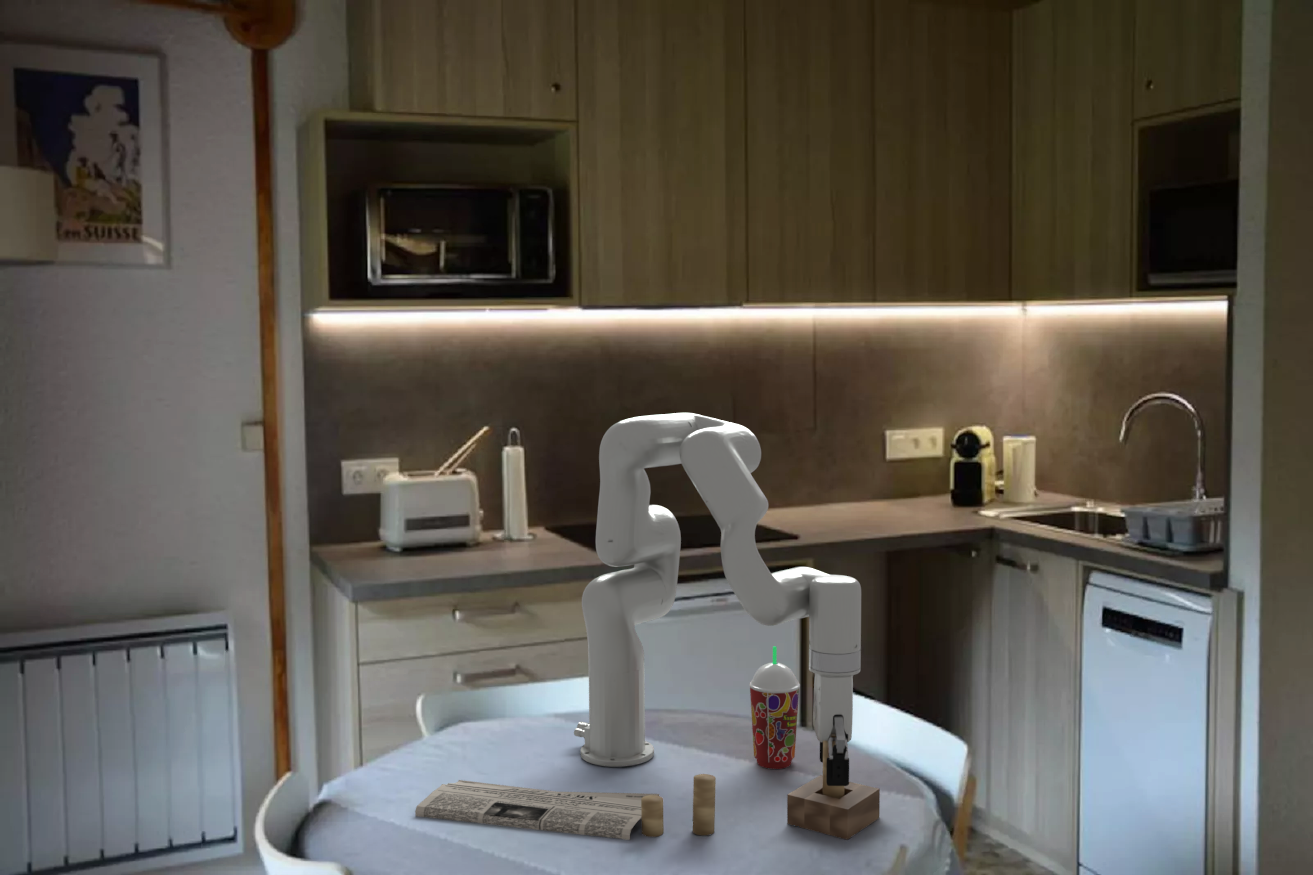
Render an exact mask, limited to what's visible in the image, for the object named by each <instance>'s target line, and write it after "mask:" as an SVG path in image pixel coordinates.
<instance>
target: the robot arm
mask: <svg viewBox="0 0 1313 875" xmlns="http://www.w3.org/2000/svg"><path fill="white" fill-rule="evenodd" d="M602 436H603V437H602V439H601V441H600V445H599V450H598V451H599V452H598V453H599V454H598V460H599V461H598V462H599V479H600V480H599V481H600V482H599V494H598V505H597V516H596V529H595V550H596V554H597V557H598V559H599V560H600V561H601V563H603V564H605V565H606V566H609V567H615V568H618V567H629V566H633V567H632V568H628V569H627V568H626V569H622V570H618V571H617V570H616V571H612V572H608V573H604V574H601V575H599V576H598V577H595V578H593V579H592V580H591V581H590V582H588V584H587V585H586V586H585V588H584V590H583V592H582V595H581V609H582V615H583V619H584V620H583V621H584V625H585V629H586V630H585V631H586V638H587V652H588V653H587V655H588V656H587V657H588V659H587V660H588V662H587V663H588V718H589V719H588V722H585V721H579V722H578V724H577V726H576V728H575V729H574V730H573V735H574V736H575V737H579V738H583V739H584V744H583V745H582V746H581V747H580V757H581V759H582V760H584V761H586V762H587V763H589V764H592V765H596V766H601V767H609V768H616V767H617V768H619V767H631V766H636V765H640V764H643V763H645V762H648V761H650V760H651V759H653V757H654V755H655V747H654V745H653V744H652V743H650V742H649V741H647V740H646V707H645V706H646V703H645V702H646V701H645V700H646V698H645V697H646V695H645V694H646V693H645V690H646V688H645V686H646V682H645V681H646V680H645V679H646V678H645V677H646V676H645V673H646V670H645V652H644V647H643V643H642V642H641V640H640V637H639V635H638V633H637V631H636V629H635V628H636V627H635V626H637V625H640V624H643V623H647V622H650V621H654V620H657V619H661V618H662V617H664V616H665V615H667V614H668V613H669V612H670V611H671V609H672V608H673V605H674V603H675V600H676V595H677V588H678V579H679V578H678V577H679V568H680V567H679V566H680V557H681V556H680V555H681V544H682V542H681V541H682V537H681V530H680V525H679V523H678V521H677V519H676V516H675V515H674V514H673V512H672V511H670V510H669V509H668V508H666V507H664V506H662V505H658V504H650V500H651V492H652V491H651V482H650V480H649V477H648V474H647V472H646V470H645V469H648V468H649V469H650V468H658V467H667V466H675V465H680V464H681V466H682V467H683V470H684V471H685V472H686V474H687V477H688V478H689V479H690V481H691V483H692V484H693V486H694V487H695V489H696V490H697V493H698V494H699V496H700V497H701V499H702V501H703V502H704V504H705V506H706V507H707V508H708V510H709V512H710V514H711V516H712V518H713V519H714V520H715V522H716V524H717V526H718V527H719V529H720V532H721V534H720V535H721V536H720V556H721V557H720V558H721V565H722V570H723V573H724V576H725V579H726V581H727V583H728V585H729V587H730V588H731V590H732V592H733V593H734V595H735V597H736V598H737V600H738V601H739V603H740V605H741V606H742V608H743V609H744V611H745V612H746V613H747V614H748V616H749V617H751V618H752V620H754V621H755V622H757V623H759V624H761V625H763V626H768V627H769V626H770V627H772V626H778V625H781V624H785V623H788V622H791V621H794V620H799V619H804V618H808V622H809V626H808V629H809V630H808V631H809V634H808V635H809V636H808V637H809V640H808V641H809V642H808V644H809V645H808V646H809V647H808V670H809V672H811V673H813V674H814V684H813V686H814V688H813V713H812V714H813V715H812V726H813V729H814V733H815V736H816V739H817V741H818V742H819V762H821V763H822V764H823V741H827V742H828V755H829V758H827V766H826V783H827V785H828V786H848V785H849V782H850V758H849V746H848V743H849V742H850V741H851V740H852V736H853V714H854V711H853V709H854V708H853V706H854V702H853V700H854V698H853V697H854V696H853V695H854V694H853V692H854V689H853V688H854V682H853V677H854V675H855V676H856V675H858V674H859V673H860V672H861V668H862V667H861V664H862V663H861V661H862V659H861V657H862V656H861V655H862V654H861V652H862V651H861V650H862V646H861V645H862V641H861V640H862V636H861V635H862V587H861V584H860V582H859V581H858V579H856V578H854V577H852V576H849V575H848V576H847V575H843V574H829V573H826V572H824V571H821V570H818V569H815V568H812V567H810V566H795V567H792V568H789V569H788V568H787V569H784V570H779V571H775V572H771V571H770V569H769V568H768V566H767V565H766V563H765V562H764V560H763V558H762V556H761V554H760V552H759V550H758V547H757V543H756V536H755V535H756V528H757V525H758V523H759V522H760V521H761V520H762V519H763V518H764V517H765V516H766V514H767V513H768V510H769V501H768V498H767V497H766V496H765V494H764V492H763V491H762V489H761V488H760V486H759V484H758V483H757V482H756V480H755V478H754V477H753V476H752V473H753V472H754V471H755V470H757V468H758V467H759V465H760V462H761V460H762V449H761V444H760V442H759V440H758V438H757V436H756V435H755V433H753V432H752V431H751V430H750V429H749V428H747V427H746V426H744V425H741V424H739V423H734V422H731V421H730V422H729V421H726V420H721V419H718V418H714V417H710V416H706V415H701V414H698V413H693V412H676V413H675V412H674V413H665V414H662V413H661V414H650V415H641V416H634V417H630V418H626V419H622V420H619V421H618V422H616V423H614V424H613V425H611V426H610V427H609V428H608V429H607V430H606V431H605V433H604V435H602ZM831 736H835V737H831ZM832 744H836V745H834V746H833V747H832Z"/></svg>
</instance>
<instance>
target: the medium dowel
mask: <svg viewBox="0 0 1313 875" xmlns="http://www.w3.org/2000/svg"><path fill="white" fill-rule="evenodd" d="M716 781H717V780H716V776H714V775H712V774H709V773H708V774H707V773H700V774H695V775H694V776H693V788H692V789H693V790H692V794H693V795H692V797H693V798H692V799H693V800H692V801H693V802H692V833H693V834H695V835H696V836H697V835H698V836H710V834H711V835H713V834H714V833H715V829H716V828H715V824H716V815H715V814H716V783H717V782H716Z"/></svg>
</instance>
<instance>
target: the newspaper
mask: <svg viewBox="0 0 1313 875" xmlns="http://www.w3.org/2000/svg"><path fill="white" fill-rule="evenodd" d="M648 795H656V796H660V793H640V792H639V793H637V792H635V793H634V792H599V791H598V792H597V791H596V792H595V791H594V792H591V791H589V792H588V791H554V790H547V789H540V788H539V789H538V788H528V787H522V786H521V787H520V786H514V785H513V786H512V785H504V784H496V783H487V782H480V781H471V780H463V779H458V780H457V781H456V782H448V783H446V784H444V783H443V784H441V785H440V786H438V787H437V788H436V789H435V790H433V791H432V792H430V793H429V794H428V795H427V796H426V797H425V798H424V799H423V800H422V801H420V803H418V804H417V805H416V807H415V810H414V813H415V814H414V815H415V817H419V818H428V819H429V818H430V819H439V820H448V821H457V822H464V823H465V822H466V823H474V824H484V825H494V826H500V827H501V826H502V827H509V828H510V827H511V828H518V829H519V828H520V829H527V830H538V831H546V832H555V833H563V834H571V835H573V834H574V835H582V836H591V837H599V838H607V839H608V838H609V839H618V840H627V841H631V832H632V831H633V829H634V826H635V825H636V824H637V823H638V822H639V821H640V820H641V799H642V797H644V796H648Z"/></svg>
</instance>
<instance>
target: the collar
mask: <svg viewBox="0 0 1313 875" xmlns="http://www.w3.org/2000/svg"><path fill="white" fill-rule="evenodd" d="M880 790H881V789H880V788H879V787H874V786H869V785H865V784H861V783H858V782H857V783H856V782H851V781H849V785H848V786H844V796H843V797H842V798H840V799H838V798H834V797H830V796H825V795H823V774H820V775H818V776H817V777H814V778H813V779H811V780H810V781H808V782H806V783H804V784H803V785H801V786H800V787H798V788H795V789H794V790H793V791H791V792H789V793H787V795H786V796H787V797H786V798H787V799H786V804H787V805H786V809H787V811H786V812H787V814H786V818H787V819H786V822H787V823H786V824H787V825H789V824H790V826H793V825H795V826H794V827H797V826H799V827H798V828H801V829H805V830H809V831H812V832H817V833H820V834H824V835H828V836H832V837H835V838H839V839H841V840H842V839H843V840H847V841H848V840H849V839H851V838H852V837H854V836H855V835H857V834H859V833H860V832H861V831H862V830H864V829H865V828H867V827H868V826H870V825H871V824H873V823H874V822H876V821H877V820H878V819H880V807H881V806H880V802H881V801H880V797H881V794H880V793H881V791H880Z"/></svg>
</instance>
